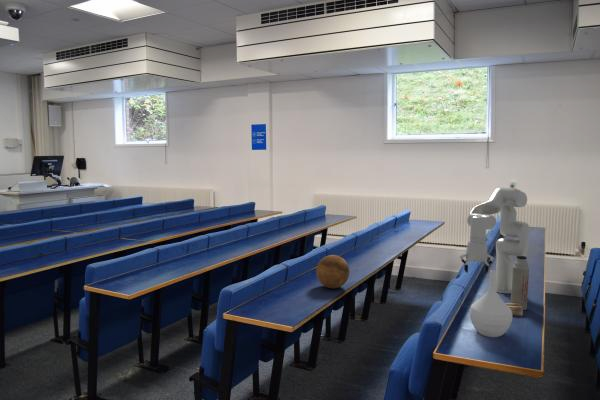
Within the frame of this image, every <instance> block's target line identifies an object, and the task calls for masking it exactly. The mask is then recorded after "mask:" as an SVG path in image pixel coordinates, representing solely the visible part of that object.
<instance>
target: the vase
mask: <svg viewBox="0 0 600 400" xmlns="http://www.w3.org/2000/svg"><path fill="white" fill-rule="evenodd" d="M505 303H506V302H505V301H504V300H503V299H502V298H501V296H500V295H499V294H498V292H496V269H490V270H489V280H488V290H486V292H485V293H484V294H483V295H482V296H480V298H479V299H477V300H476V301H474V302H473V303H472V304H470V305H471V306H470V308H469V317H470V321H471V324H472V326H473V327H474V329H475V331H477V332H478V334H480V335H482V336H485V337H487V338H489V337H490V338H499V337H502V336H503V335H504V334H505V333H506V332H507V331H508V330H509V329H510V326H511V324H512V323H513V322H512V321H513V315H512V311H511V309H510V308H509V307H508V306H507V305H506V304H505Z"/></svg>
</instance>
